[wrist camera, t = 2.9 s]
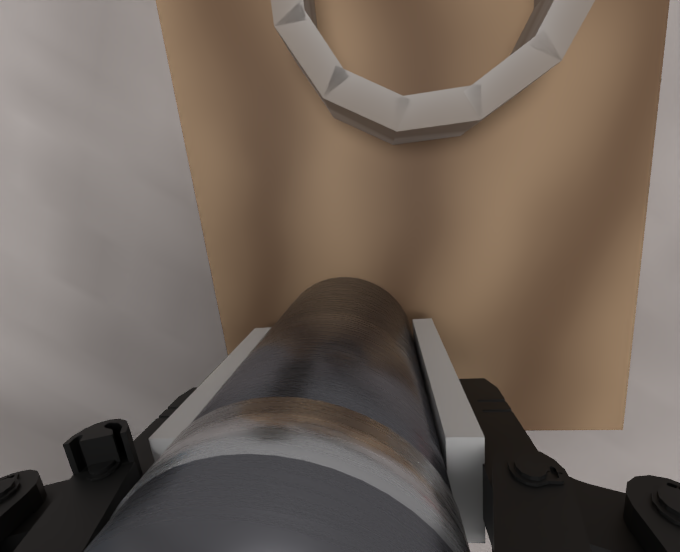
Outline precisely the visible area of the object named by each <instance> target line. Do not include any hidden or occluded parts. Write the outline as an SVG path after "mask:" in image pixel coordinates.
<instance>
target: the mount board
mask: <svg viewBox="0 0 680 552" xmlns="http://www.w3.org/2000/svg"><path fill="white" fill-rule="evenodd" d="M669 1H670V0H156V4H157V9H158V14H159V19H160V24H161V29H162V34H163V39H164V44H165V48H166V53H167V58H168V63H169V68H170V73H171V78H172V83H173V88H174V93H175V98H176V102H177V107H178V112H179V117H180V122H181V127H182V132H183V137H184V142H185V147H186V152H187V156H188V161H189V166H190V171H191V176H192V181H193V186H194V191H195V196H196V201H197V206H198V211H199V215H200V220H201V225H202V230H203V235H204V240H205V245H206V250H207V255H208V260H209V265H210V269H211V274H212V279H213V284H214V289H215V294H216V299H217V304H218V309H219V314H220V319H221V323H222V328H223V333H224V338H225V343H226V348H227V353H228V356H229V355H230V354H231V352H232V351H233V350H234V349H235V348H236V347H237V346H238V345H239V344H240V343H241V342H242V341H243V340H244V339H245V338H246V337H247V336H248V335H249V334H250V333H251V332H252V331H253V330H254V329H255V328H267V327H273V326H274V325H275V323H276V322H277V321H278V320H279V319H280V318H281V316H282V315H283V314H284V313H285V312H286V310H287V309H288V308H289V307H290V306H291V304H292V303H293V302H294V301H295V300H296V299H297V298H298V296H299V295H300V294H301V293H302V292H304V291H305V290H306V289H307V288H309V287H311V286H312V285H314V284H316V283H318V282H321V281H323V280H327V279H330V278H337V277H352V278H359V279H363V280H366V281H369V282H372V283H374V284H376V285H378V286H380V287H382V288H383V289H384V290H386V291H387V292H389V293H390V294H391V295H392V296H393V297H394V298H395V299H396V300H397V301H398V303H399V304H400V305H401V307H402V308H403V310H404V312H405V313H406V316H407V318H408V320H409V324H410V327H411V331H412V335H413V321H412V319H428V318H432V320H433V323H434V325H435V327H436V329H437V332H438V334H439V336H440V338H441V341H442V343H443V345H444V347H445V350H446V352H447V354H448V356H449V358H450V361H451V363H452V365H453V367H454V370H455V372H456V374H457V376H458V379H470V378H485V379H486V380H488V381H489V382H490V383H492V384H493V385H495V386H496V387H497V388H498V389H499V391H500V392H501V394H502V395H503V397H504V398H505V402H507V403H508V405H509V406H510V408H511V410H512V412H513V413H514V414H515V416H516V417H517V419H518V421H519V422H520V424H521V425H522V427H523V428H524V430H623V423H624V414H625V405H626V395H627V386H628V377H629V368H630V359H631V349H632V340H633V331H634V322H635V313H636V304H637V294H638V285H639V276H640V267H641V258H642V248H643V239H644V230H645V221H646V212H647V203H648V193H649V184H650V175H651V166H652V157H653V148H654V138H655V129H656V120H657V111H658V102H659V92H660V83H661V74H662V65H663V56H664V47H665V37H666V28H667V19H668V10H669ZM413 339H414V338H413Z"/></svg>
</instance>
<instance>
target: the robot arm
mask: <svg viewBox="0 0 680 552" xmlns="http://www.w3.org/2000/svg"><path fill="white" fill-rule="evenodd" d="M412 321H413V338H414V343H415V347H416V351H417V355H418V359H419V363H420V367H421V371H422V375H423V379H424V383H425V387H426V391H427V395H428V399H429V403H430V407H431V411H432V415H433V419H434V423H435V427H436V431H437V435H438V439H439V443H440V447H441V451H442V455H443V459H444V463H445V467H446V471H447V474H448V478H449V482H450V486H451V490H452V494H453V498H454V500H455V502H456V504H457V506H458V509H459V512H460V516H461V519H462V523H463V526H464V530H465V534H466V538H467V542H469V543H485V526H486V530H487V533H488V536H489V539H490V542H491V545H492V552H680V483H679V482H676V481H673V480H671V479H668V478H662V477H657V476H651V475H647V476H637V477H634V478H633V479H631V480H630V481H629V482H627V488H626V493H622V492H618V491H614V490H610V489H606V488H602V487H598V486H594V485H590V484H587V483H584V482H581V481H578V480H575V479H573V478H571V477H569V476H568V474H567V473H566V471H565V469H564V468H562V467H561V466H560V465H559V464H558V463H557V462H556V461H555V460H554V459H552V458H550V457H549V456H547V455H545V454H543V453H542V452H539V451H537V449H536V447H535V446H534V444H533V443H532V441H531V439H530V438H529V436H528V435H527V433H526V432H525V430H524V428H523V427H522V425H521V424H520V422H519V421H518V419H517V417H516V416H515V414H514V413H513V412H512V410H511V408H510V406H509V405H508V403H507V402H505V398H504V397H503V395H502V394H501V392H500V391H499V389H498V388H497V387H496V386H495V385H493V384H492V383H490V382H489V381H488V380H486V379H485V378H470V379H458V376H457V374H456V372H455V370H454V367H453V365H452V363H451V361H450V358H449V356H448V354H447V352H446V350H445V347H444V345H443V343H442V341H441V338H440V336H439V334H438V332H437V329H436V327H435V325H434V323H433V320H432V318H428V319H412ZM271 328H272V327H267V328H255V329H254V330H253V331H252V332H251V333H250V334H249V335H248V336H247V337H246V338H245V339H244V340H243V341H242V342H241V343H240V344H239V345H238V346H237V347H236V348H235V349H234V350H233V351H232V352H231V354H230V355H229V356H228V357H227V358H226V359H225V360H224V361H223V362H222V363H221V364H220V365H219V366H218V367H217V368H216V369H215V370H214V371H213V372H212V373H211V374H210V375H209V376H208V377H207V378H206V379H205V380H204V381H203V383H202V384H201V385H200V386H199V387H198V388H192V389H190V390H189V391H187V392H186V393H184V394H182V395H181V396H179V397H178V398H177V399H176V400H175V401H174V402H173V403H172V404H171V405H170V406H169V407H168V409H166V410H165V411H164V412H163V413H162V414H161V415H160V416H159V418H157V419H156V420H155V421H154V422H153V423H152V424H151V425H150V426H149V427H148V428H146V429H145V430H144V431H143V432H142V433H141V434H140V435H139V436H138V437H137V438H136V439H135V440H134V441H133V439H132V435H131V432H130V429H129V425H128V423H127V421H125V420H122V419H113V420H107V421H104V422H100V423H97V424H95V425H93V426H90V427H88V428H86V429H84V430H82V431H81V432H79V433H77V434H76V435H74V436H72V437H71V438H70V439H69V440H68V441H66V442H65V443H64V444H63V447H64V449H65V452H66V455H67V458H68V461H69V463H70V466H71V469H72V472H73V476H72V477H71V479H70V480H66V481H62V482H57V483H53V484H49V485H45V486H43V483H42V480H41V478H40V475H39V473H38V471H34V470H26V471H20V472H16V473H13V474H10V475H9V476H8V475H7V476H5V477H2V478H0V552H83V551H84V550H85V549H86V548H87V546H88V545H89V544H90V543H91V542H92V540H93V539H94V538H95V537H96V536H97V534H98V533H99V532H100V531H101V530H102V529H103V527H104V526H105V525H106V524H107V523H108V521H109V520H110V518H111V516H112V514H113V513H114V511H115V510H116V508H117V507H118V505H119V504H120V502H121V501H122V500H123V498H124V497H125V496H126V495H127V494H128V493H129V492H130V490H131V489H132V488H133V487H134V486H135V485H136V483H137V482H138V481H139V480H140V479H141V478H142V476H143V475H144V474H145V473H146V472H147V471H148V469H149V468H150V467H151V466H152V465H153V464H154V462H155V461H156V460H157V459H158V458H159V457H160V455H161V454H162V453H163V452H164V451H165V450H166V448H167V447H168V446H169V445H170V444H171V443H172V441H173V440H174V439H175V438H176V437H177V436H178V435H179V434H180V433H181V432H182V431H183V430H184V429H185V428H186V427H188V426H189V425H190V424H191V423H192V422H193V421H194V419H195V418H196V417H197V416H198V415H199V414H200V412H201V411H202V410H203V409H204V408H205V406H206V405H207V404H208V403H209V402H210V400H211V399H212V398H213V397H214V396H215V395H216V393H217V392H218V391H219V390H220V389H221V387H222V386H223V385H224V384H225V383H226V382H227V380H228V379H229V378H230V377H231V376H232V374H233V373H234V372H235V371H236V370H237V368H238V367H239V366H240V365H241V364H242V363H243V361H244V360H245V359H246V358H247V357H248V355H249V354H250V353H251V352H252V351H253V350H254V348H255V347H256V346H257V345H258V344H259V342H260V341H261V340H262V339H263V338H264V336H265V335H266V334H267V333H268V332H269V331H270V329H271Z"/></svg>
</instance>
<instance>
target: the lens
mask: <svg viewBox="0 0 680 552" xmlns="http://www.w3.org/2000/svg"><path fill="white" fill-rule="evenodd" d="M83 552H470V549H469V545H468V542H467V538H466V534H465V530H464V526H463V523H462V519H461V516H460V512H459V509H458V506H457V504H456V502H455V500H454V498H453V494H452V490H451V486H450V482H449V478H448V474H447V471H446V467H445V463H444V459H443V455H442V451H441V447H440V443H439V439H438V435H437V431H436V427H435V423H434V419H433V415H432V411H431V407H430V403H429V399H428V395H427V391H426V387H425V383H424V379H423V375H422V371H421V367H420V363H419V359H418V355H417V351H416V347H415V343H414V339H413V335H412V331H411V327H410V324H409V320H408V318H407V316H406V313H405V312H404V310H403V308H402V307H401V305H400V304H399V303H398V301H397V300H396V299H395V298H394V297H393V296H392V295H391V294H390V293H389V292H387V291H386V290H384V289H383V288H382V287H380V286H378V285H376V284H374V283H372V282H369V281H366V280H363V279H359V278H352V277H337V278H330V279H327V280H323V281H321V282H318V283H316V284H314V285H312V286H311V287H309V288H307V289H306V290H305V291H304V292H302V293H301V294H300V295H299V296H298V298H297V299H296V300H295V301H294V302H293V303H292V304H291V306H290V307H289V308H288V309H287V310H286V312H285V313H284V314H283V315H282V316H281V318H280V319H279V320H278V321H277V322H276V323H275V325H274V326H273V327H272V328H271V329H270V331H269V332H268V333H267V334H266V335H265V336H264V338H263V339H262V340H261V341H260V342H259V344H258V345H257V346H256V347H255V348H254V350H253V351H252V352H251V353H250V354H249V355H248V357H247V358H246V359H245V360H244V361H243V363H242V364H241V365H240V366H239V367H238V368H237V370H236V371H235V372H234V373H233V374H232V376H231V377H230V378H229V379H228V380H227V382H226V383H225V384H224V385H223V386H222V387H221V389H220V390H219V391H218V392H217V393H216V395H215V396H214V397H213V398H212V399H211V400H210V402H209V403H208V404H207V405H206V406H205V408H204V409H203V410H202V411H201V412H200V414H199V415H198V416H197V417H196V418H195V419H194V421H193V422H192V423H191V424H190V425H189V426H188V427H186V428H185V429H184V430H183V431H182V432H181V433H180V434H179V435H178V436H177V437H176V438H175V439H174V440H173V441H172V443H171V444H170V445H169V446H168V447H167V448H166V450H165V451H164V452H163V453H162V454H161V455H160V457H159V458H158V459H157V460H156V461H155V462H154V464H153V465H152V466H151V467H150V468H149V469H148V471H147V472H146V473H145V474H144V475H143V476H142V478H141V479H140V480H139V481H138V482H137V483H136V485H135V486H134V487H133V488H132V489H131V490H130V492H129V493H128V494H127V495H126V496H125V497H124V498H123V500H122V501H121V502H120V504H119V505H118V507H117V508H116V510H115V511H114V513H113V514H112V516H111V518H110V520H109V521H108V523H107V524H106V525H105V526H104V527H103V529H102V530H101V531H100V532H99V533H98V534H97V536H96V537H95V538H94V539H93V540H92V542H91V543H90V544H89V545H88V546H87V548H86V549H85V550H84V551H83Z"/></svg>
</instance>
